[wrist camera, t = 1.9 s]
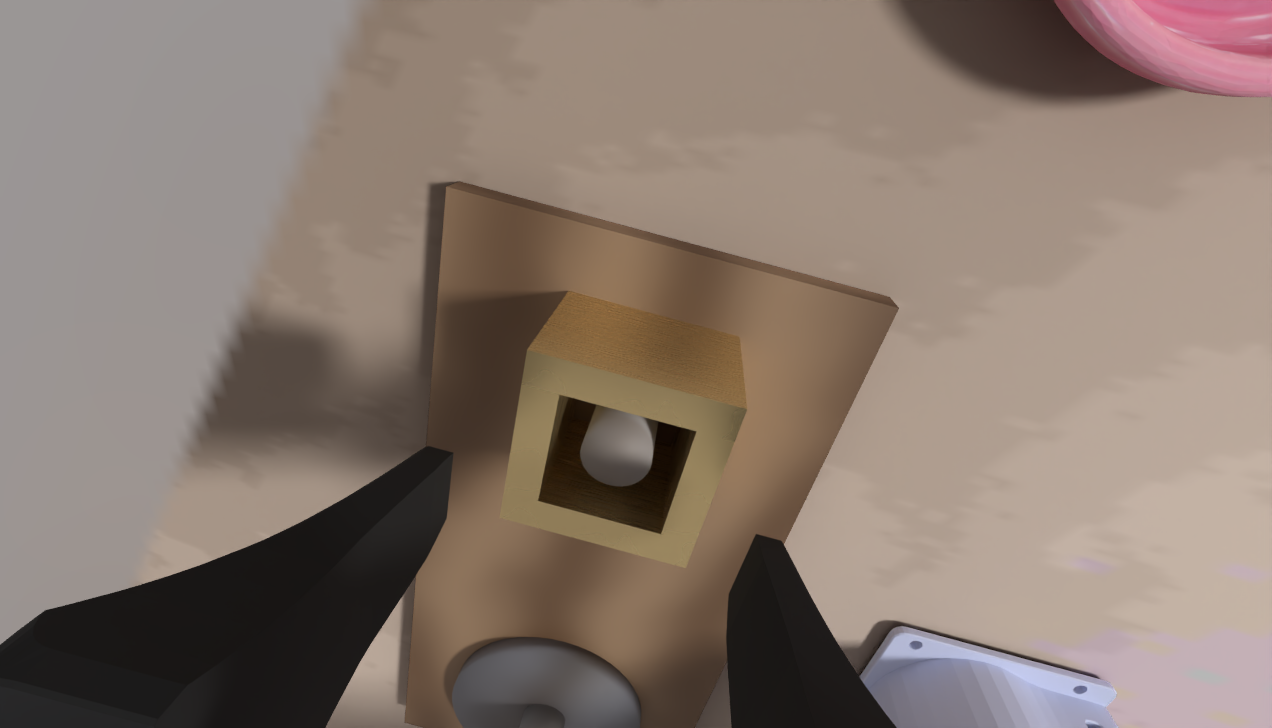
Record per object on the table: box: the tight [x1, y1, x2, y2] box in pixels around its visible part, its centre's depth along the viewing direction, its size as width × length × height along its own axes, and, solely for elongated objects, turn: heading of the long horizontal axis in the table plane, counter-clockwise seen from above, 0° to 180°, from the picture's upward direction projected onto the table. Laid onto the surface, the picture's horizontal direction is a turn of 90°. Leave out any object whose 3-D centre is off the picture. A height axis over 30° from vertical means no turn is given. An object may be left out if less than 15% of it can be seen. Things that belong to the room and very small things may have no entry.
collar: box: [500, 291, 747, 568], centre depth 17 cm, size 6×6×4 cm
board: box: [405, 182, 899, 728], centre depth 22 cm, size 14×28×5 cm, turn 167°
